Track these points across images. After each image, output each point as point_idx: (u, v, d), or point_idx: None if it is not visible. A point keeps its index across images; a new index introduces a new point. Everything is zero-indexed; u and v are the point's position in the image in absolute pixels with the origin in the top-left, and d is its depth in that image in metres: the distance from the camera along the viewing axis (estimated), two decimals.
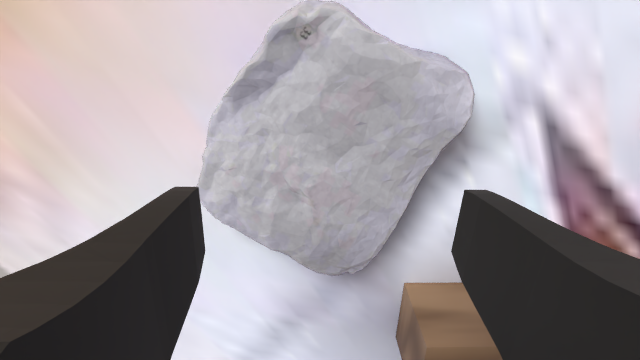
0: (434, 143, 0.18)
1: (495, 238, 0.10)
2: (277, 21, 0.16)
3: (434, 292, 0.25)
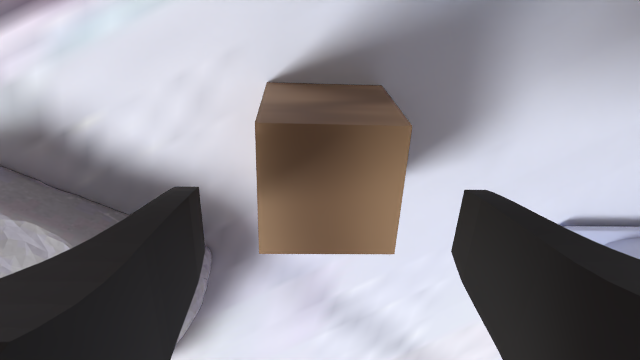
0: None
1: (495, 238, 0.10)
2: None
3: None
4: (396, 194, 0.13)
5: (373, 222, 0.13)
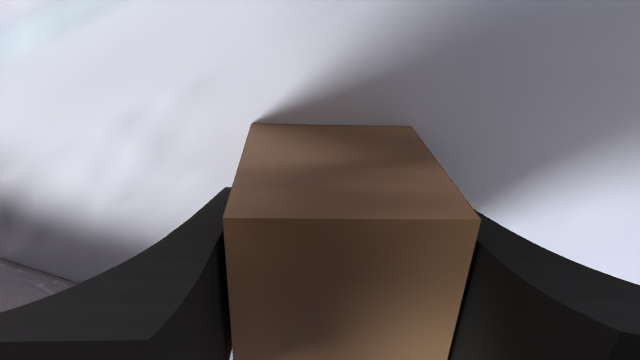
0: None
1: None
2: None
3: None
4: (448, 315, 0.08)
5: (410, 353, 0.09)
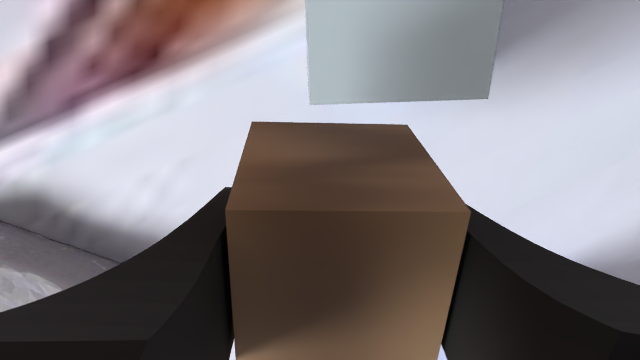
0: None
1: None
2: None
3: None
4: (440, 304, 0.09)
5: (404, 341, 0.09)
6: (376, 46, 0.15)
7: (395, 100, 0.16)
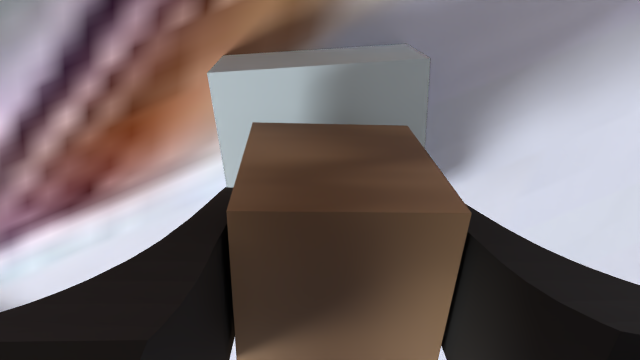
0: None
1: None
2: None
3: None
4: (441, 305, 0.09)
5: (405, 341, 0.09)
6: None
7: None
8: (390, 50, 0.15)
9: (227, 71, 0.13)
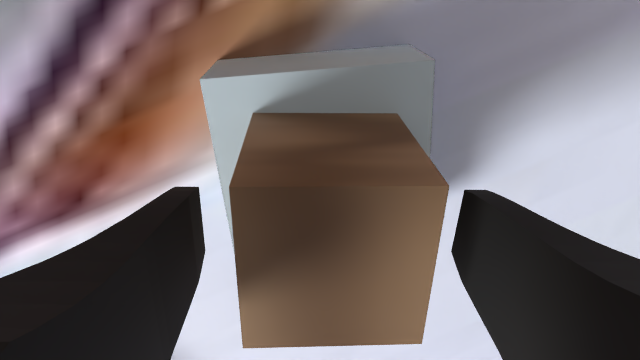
0: None
1: (495, 238, 0.10)
2: None
3: None
4: (425, 272, 0.10)
5: (394, 307, 0.10)
6: None
7: None
8: (392, 51, 0.14)
9: (221, 77, 0.12)
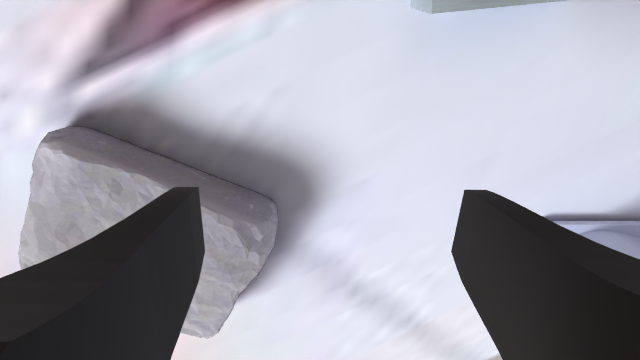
0: (102, 177, 0.19)
1: (495, 238, 0.10)
2: None
3: None
4: None
5: None
6: None
7: (517, 3, 0.16)
8: None
9: None
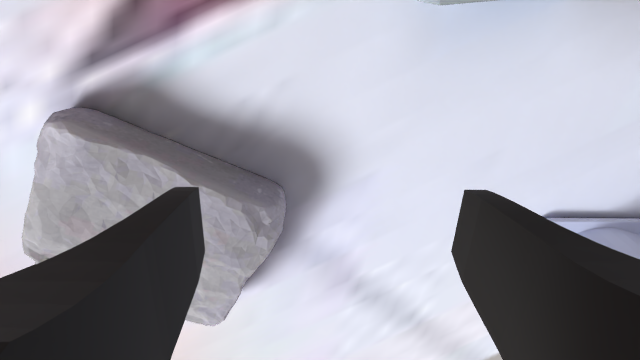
0: (108, 158, 0.18)
1: (494, 238, 0.10)
2: None
3: None
4: None
5: None
6: None
7: None
8: None
9: None
